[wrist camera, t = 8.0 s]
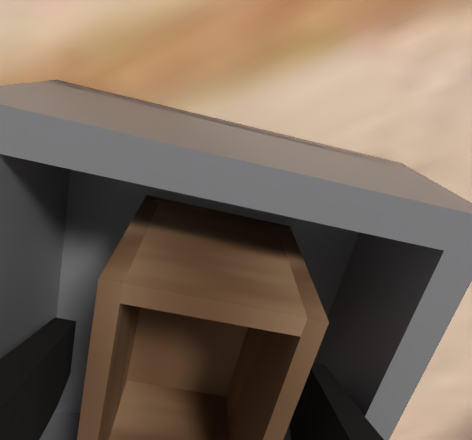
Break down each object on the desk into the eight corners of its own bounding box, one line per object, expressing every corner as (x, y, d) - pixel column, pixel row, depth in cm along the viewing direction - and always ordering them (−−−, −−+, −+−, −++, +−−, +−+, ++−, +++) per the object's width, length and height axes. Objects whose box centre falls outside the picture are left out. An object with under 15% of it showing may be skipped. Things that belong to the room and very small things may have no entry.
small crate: (289, 226, 14) (329, 322, 9) (235, 398, 17) (241, 547, 12) (146, 195, 13) (98, 278, 8) (115, 378, 16) (65, 526, 11)
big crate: (401, 163, 14) (502, 220, 9) (290, 442, 19) (315, 581, 14) (56, 79, 13) (-55, 91, 8) (32, 403, 18) (-45, 542, 13)
